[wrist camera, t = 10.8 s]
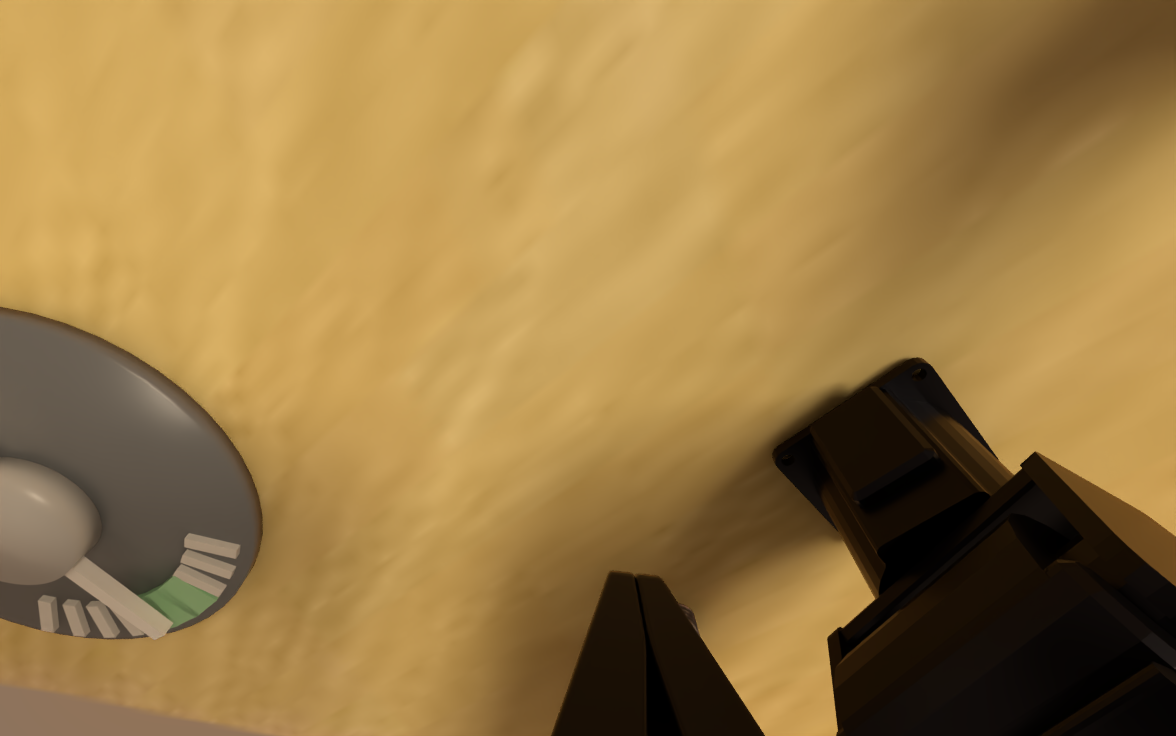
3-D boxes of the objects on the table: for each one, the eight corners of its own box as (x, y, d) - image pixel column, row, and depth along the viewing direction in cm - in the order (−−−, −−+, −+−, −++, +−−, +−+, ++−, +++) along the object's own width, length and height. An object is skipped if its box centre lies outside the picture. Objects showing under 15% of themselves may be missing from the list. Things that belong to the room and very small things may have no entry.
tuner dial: (340, 497, 24) (330, 516, 23) (143, 669, 29) (128, 691, 28) (-82, 204, 18) (-120, 212, 17) (-236, 481, 23) (-272, 499, 22)
